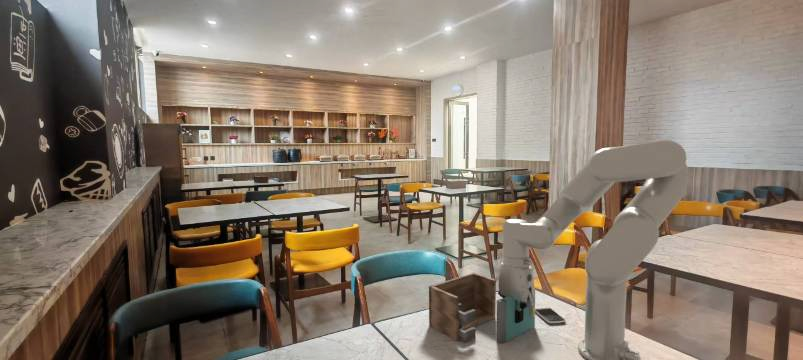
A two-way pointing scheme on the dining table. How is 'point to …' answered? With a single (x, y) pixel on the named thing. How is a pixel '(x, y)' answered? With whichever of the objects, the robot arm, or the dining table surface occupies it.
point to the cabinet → (462, 305)
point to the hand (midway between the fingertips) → (515, 319)
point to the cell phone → (550, 316)
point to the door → (512, 319)
